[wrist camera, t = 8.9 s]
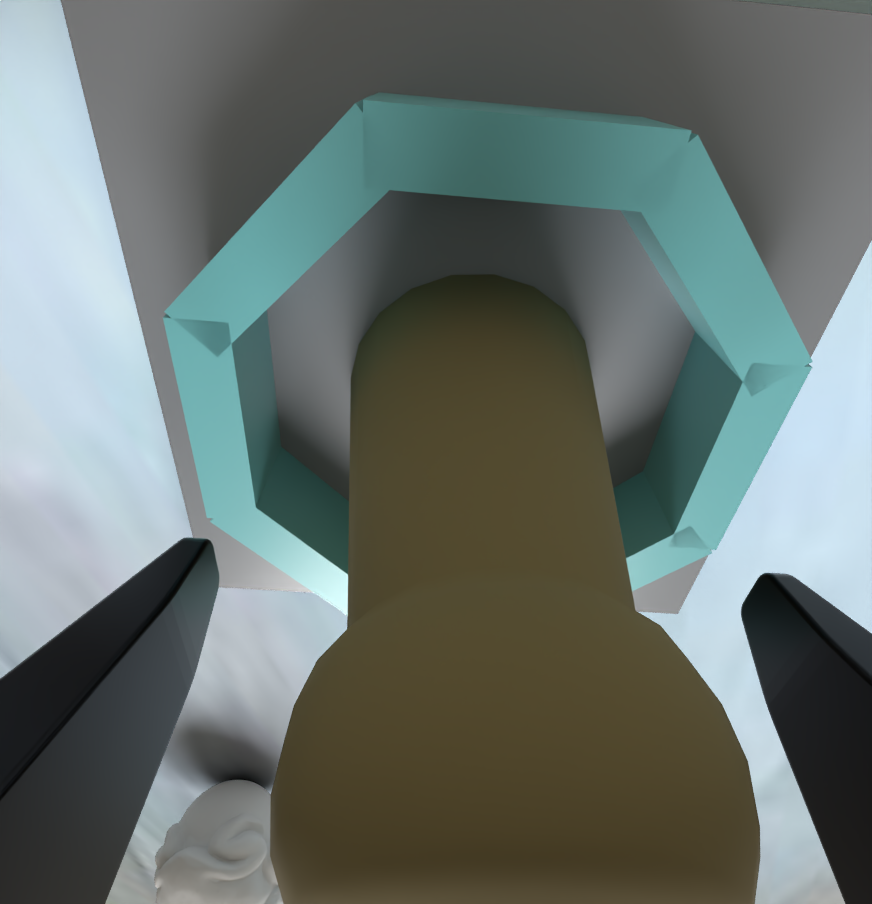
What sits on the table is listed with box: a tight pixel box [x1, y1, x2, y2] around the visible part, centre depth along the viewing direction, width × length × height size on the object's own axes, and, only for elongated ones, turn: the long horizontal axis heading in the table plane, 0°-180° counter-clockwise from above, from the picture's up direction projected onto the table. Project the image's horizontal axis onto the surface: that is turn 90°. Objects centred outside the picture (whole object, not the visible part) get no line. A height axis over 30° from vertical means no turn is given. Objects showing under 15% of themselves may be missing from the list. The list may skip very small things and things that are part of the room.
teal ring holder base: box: [61, 0, 872, 616], centre depth 13 cm, size 16×16×4 cm
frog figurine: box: [154, 780, 283, 904], centre depth 26 cm, size 6×7×7 cm
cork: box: [270, 274, 760, 904], centre depth 9 cm, size 6×6×11 cm
